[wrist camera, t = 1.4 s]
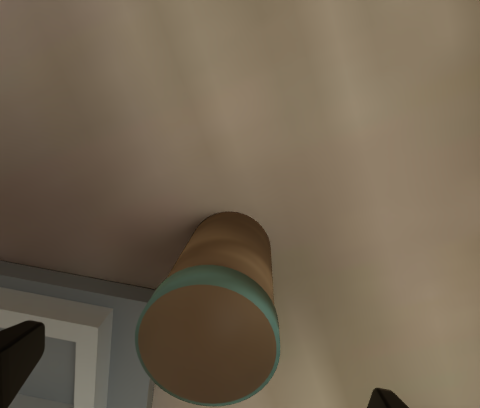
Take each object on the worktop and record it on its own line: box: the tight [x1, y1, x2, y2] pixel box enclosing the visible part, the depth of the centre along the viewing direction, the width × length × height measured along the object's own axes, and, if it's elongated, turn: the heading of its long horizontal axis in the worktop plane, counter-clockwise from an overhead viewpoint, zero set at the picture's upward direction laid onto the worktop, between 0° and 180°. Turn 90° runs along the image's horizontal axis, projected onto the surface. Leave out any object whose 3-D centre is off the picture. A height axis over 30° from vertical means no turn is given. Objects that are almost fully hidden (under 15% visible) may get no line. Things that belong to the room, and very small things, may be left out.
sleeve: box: [135, 212, 280, 406], centre depth 12 cm, size 4×4×7 cm
